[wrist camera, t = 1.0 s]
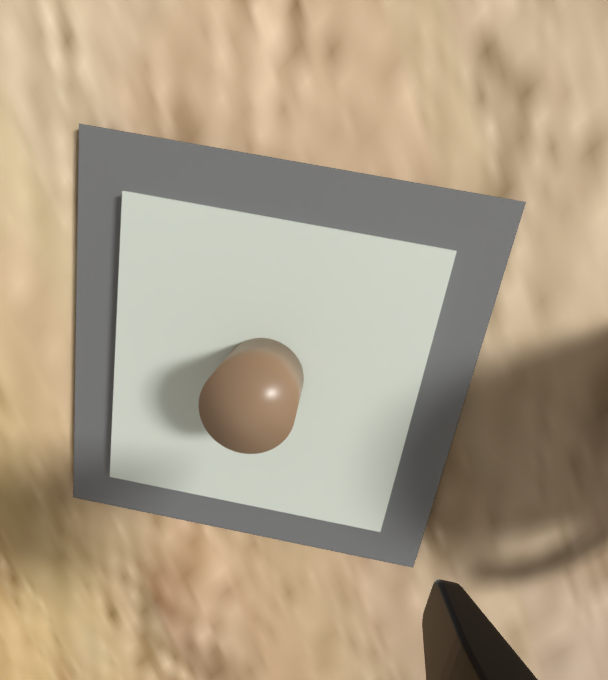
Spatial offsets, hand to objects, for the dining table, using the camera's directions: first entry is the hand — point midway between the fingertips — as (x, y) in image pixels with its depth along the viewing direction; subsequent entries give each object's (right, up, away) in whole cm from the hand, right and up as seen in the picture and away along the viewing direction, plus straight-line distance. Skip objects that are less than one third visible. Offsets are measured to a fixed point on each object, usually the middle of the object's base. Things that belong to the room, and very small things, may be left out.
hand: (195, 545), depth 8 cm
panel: (0, +3, +9) cm, 10 cm away
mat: (+1, +3, +10) cm, 10 cm away
